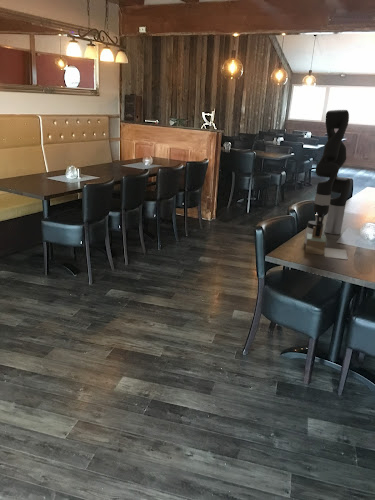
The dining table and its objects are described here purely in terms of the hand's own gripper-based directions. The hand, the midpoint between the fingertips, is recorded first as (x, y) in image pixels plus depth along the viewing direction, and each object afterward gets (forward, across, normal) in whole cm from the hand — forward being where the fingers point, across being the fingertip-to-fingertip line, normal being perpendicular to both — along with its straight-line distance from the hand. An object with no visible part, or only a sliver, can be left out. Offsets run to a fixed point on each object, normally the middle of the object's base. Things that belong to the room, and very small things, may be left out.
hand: (317, 233), depth 212 cm
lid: (+4, 0, 0) cm, 4 cm away
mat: (+10, 0, +10) cm, 14 cm away
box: (+10, 0, 0) cm, 10 cm away
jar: (+10, -13, -1) cm, 16 cm away
